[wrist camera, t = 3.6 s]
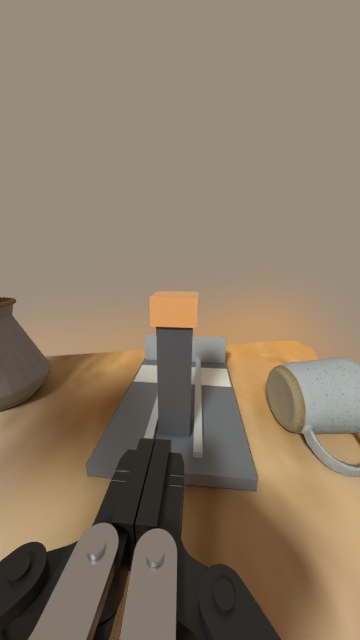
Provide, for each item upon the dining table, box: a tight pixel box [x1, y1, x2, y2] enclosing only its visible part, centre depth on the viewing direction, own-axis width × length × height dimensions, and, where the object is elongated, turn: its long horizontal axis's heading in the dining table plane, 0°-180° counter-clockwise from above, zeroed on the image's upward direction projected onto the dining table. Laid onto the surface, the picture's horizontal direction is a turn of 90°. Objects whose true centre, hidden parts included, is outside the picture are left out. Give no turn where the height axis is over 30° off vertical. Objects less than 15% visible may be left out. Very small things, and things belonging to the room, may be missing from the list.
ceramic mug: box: [267, 358, 360, 477], centre depth 22 cm, size 11×8×8 cm
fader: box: [150, 291, 198, 436], centre depth 20 cm, size 4×4×13 cm
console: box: [86, 335, 258, 491], centre depth 28 cm, size 22×14×5 cm, turn 175°
